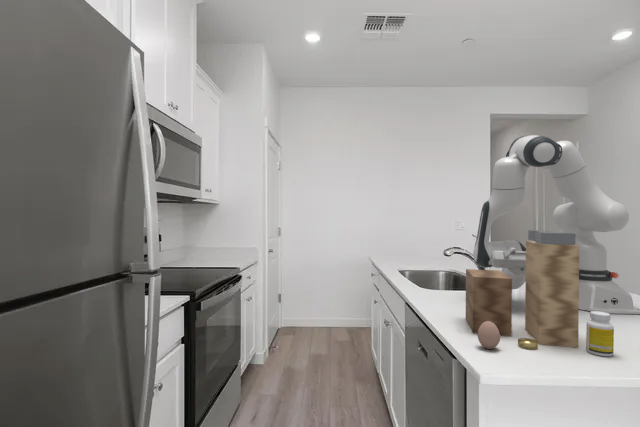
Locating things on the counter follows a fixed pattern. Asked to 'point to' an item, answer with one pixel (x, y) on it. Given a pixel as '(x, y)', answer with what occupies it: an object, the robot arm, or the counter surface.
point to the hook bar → (551, 237)
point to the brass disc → (527, 343)
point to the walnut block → (489, 300)
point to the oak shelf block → (552, 293)
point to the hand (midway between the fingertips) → (528, 249)
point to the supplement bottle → (600, 334)
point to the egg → (488, 335)
